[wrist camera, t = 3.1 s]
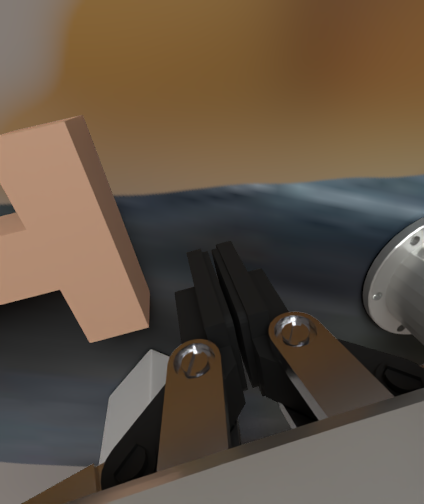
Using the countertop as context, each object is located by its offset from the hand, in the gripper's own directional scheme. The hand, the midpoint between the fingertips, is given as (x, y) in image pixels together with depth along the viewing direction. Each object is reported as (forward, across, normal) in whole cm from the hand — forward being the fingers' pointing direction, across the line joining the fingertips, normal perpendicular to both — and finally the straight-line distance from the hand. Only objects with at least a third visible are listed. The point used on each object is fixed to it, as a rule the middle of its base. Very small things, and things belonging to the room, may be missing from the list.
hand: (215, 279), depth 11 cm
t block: (+11, +11, +1) cm, 15 cm away
